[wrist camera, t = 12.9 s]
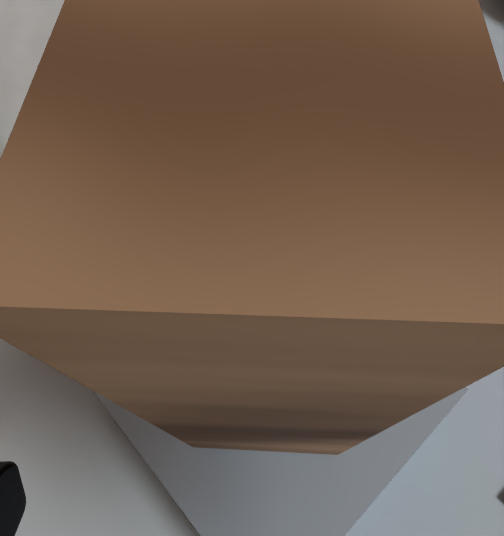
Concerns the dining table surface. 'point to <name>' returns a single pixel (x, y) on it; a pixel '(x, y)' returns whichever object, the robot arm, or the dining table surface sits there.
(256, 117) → the walnut column
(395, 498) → the dining table surface
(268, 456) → the slate block
